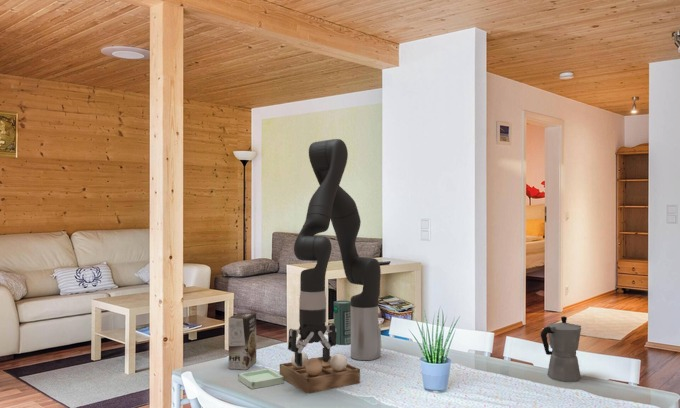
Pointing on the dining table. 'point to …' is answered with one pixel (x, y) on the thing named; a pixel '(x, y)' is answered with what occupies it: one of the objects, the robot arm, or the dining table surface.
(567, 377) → the coffeepot
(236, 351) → the coffee box
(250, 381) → the dish
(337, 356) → the white egg
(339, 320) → the can
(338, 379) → the egg tray
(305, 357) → the white egg
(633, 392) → the dining table surface
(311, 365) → the brown egg
